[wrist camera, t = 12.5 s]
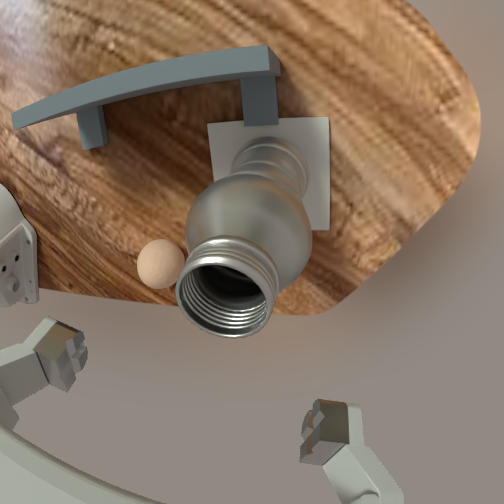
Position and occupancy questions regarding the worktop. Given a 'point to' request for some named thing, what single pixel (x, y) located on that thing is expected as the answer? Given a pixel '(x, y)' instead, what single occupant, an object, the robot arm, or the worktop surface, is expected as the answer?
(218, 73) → the slate screen
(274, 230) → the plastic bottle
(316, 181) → the grey mat
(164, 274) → the egg
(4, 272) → the robot arm
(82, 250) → the worktop surface
